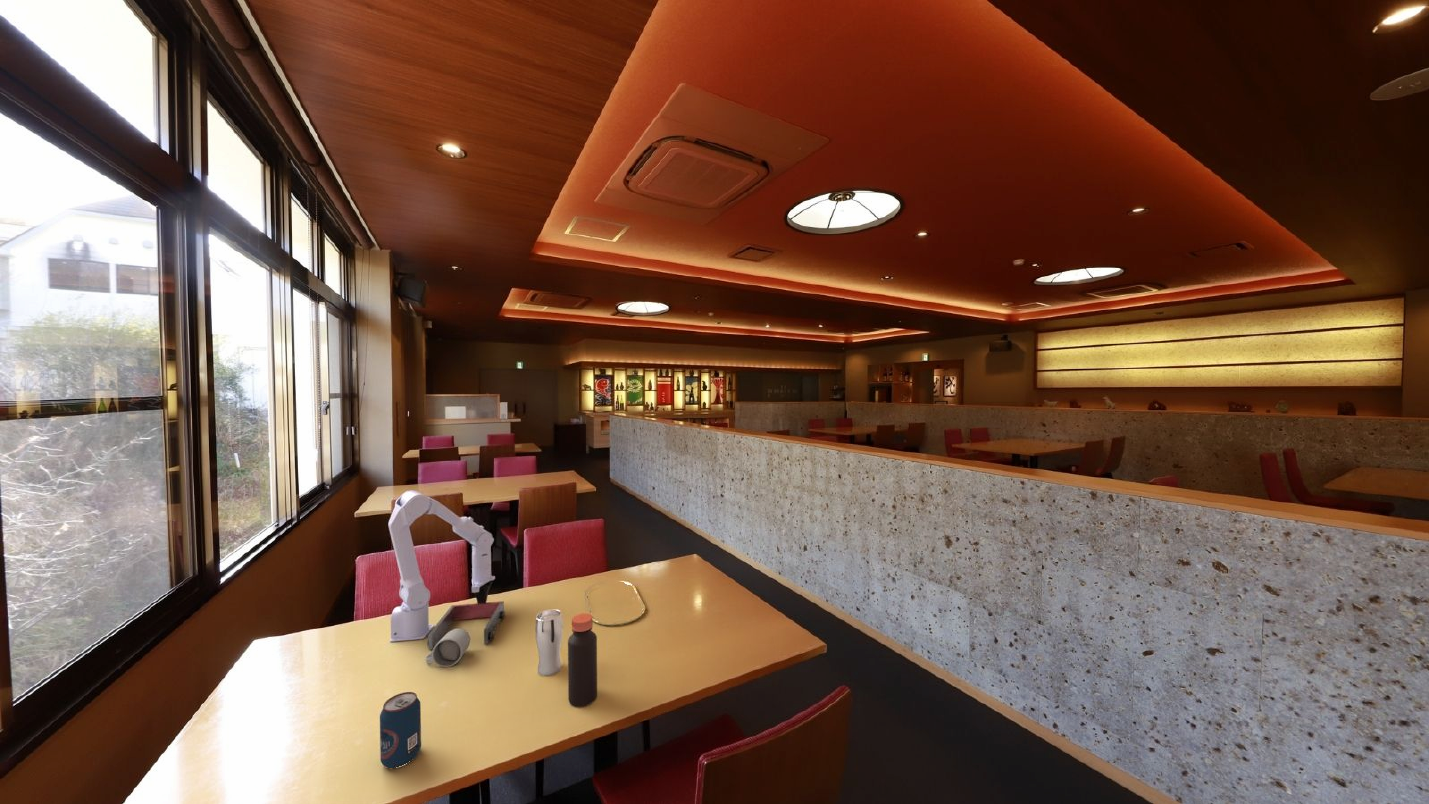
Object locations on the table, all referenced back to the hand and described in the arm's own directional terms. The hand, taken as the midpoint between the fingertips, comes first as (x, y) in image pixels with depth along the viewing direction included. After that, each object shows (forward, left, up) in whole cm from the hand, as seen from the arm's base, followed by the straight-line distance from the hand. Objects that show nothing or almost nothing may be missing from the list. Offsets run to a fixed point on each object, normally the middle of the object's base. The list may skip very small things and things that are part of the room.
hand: (482, 604), depth 158 cm
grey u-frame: (0, -14, -2) cm, 14 cm away
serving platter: (+44, -2, -3) cm, 44 cm away
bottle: (+38, -53, -3) cm, 65 cm away
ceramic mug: (-1, -29, -3) cm, 29 cm away
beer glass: (+28, -39, -3) cm, 48 cm away
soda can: (+3, -65, -3) cm, 65 cm away
